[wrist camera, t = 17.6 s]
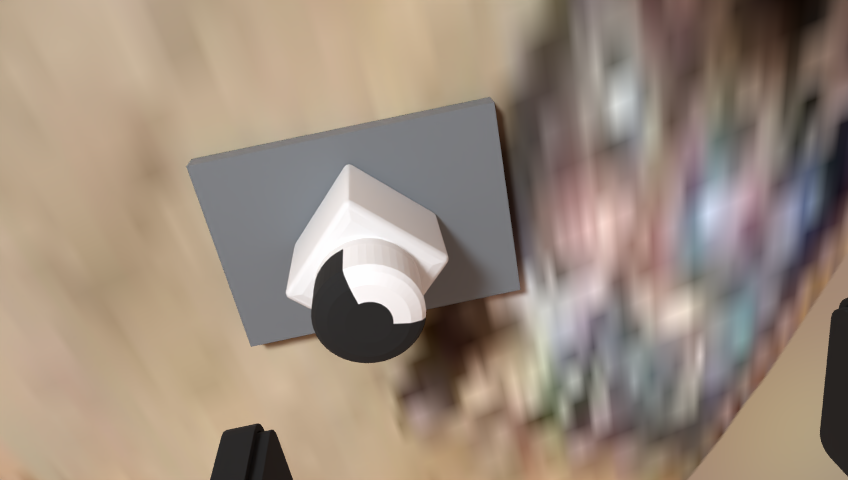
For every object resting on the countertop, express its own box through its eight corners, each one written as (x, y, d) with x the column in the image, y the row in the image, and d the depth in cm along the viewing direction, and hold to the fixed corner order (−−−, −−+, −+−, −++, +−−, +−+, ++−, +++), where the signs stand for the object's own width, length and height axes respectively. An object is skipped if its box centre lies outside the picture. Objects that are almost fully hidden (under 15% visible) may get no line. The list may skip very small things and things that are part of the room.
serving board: (489, 97, 43) (494, 102, 42) (515, 280, 49) (520, 289, 48) (191, 159, 43) (186, 166, 42) (253, 335, 49) (251, 346, 48)
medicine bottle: (381, 292, 47) (390, 399, 36) (292, 246, 45) (273, 344, 34) (437, 213, 45) (464, 301, 34) (347, 160, 43) (345, 236, 32)
